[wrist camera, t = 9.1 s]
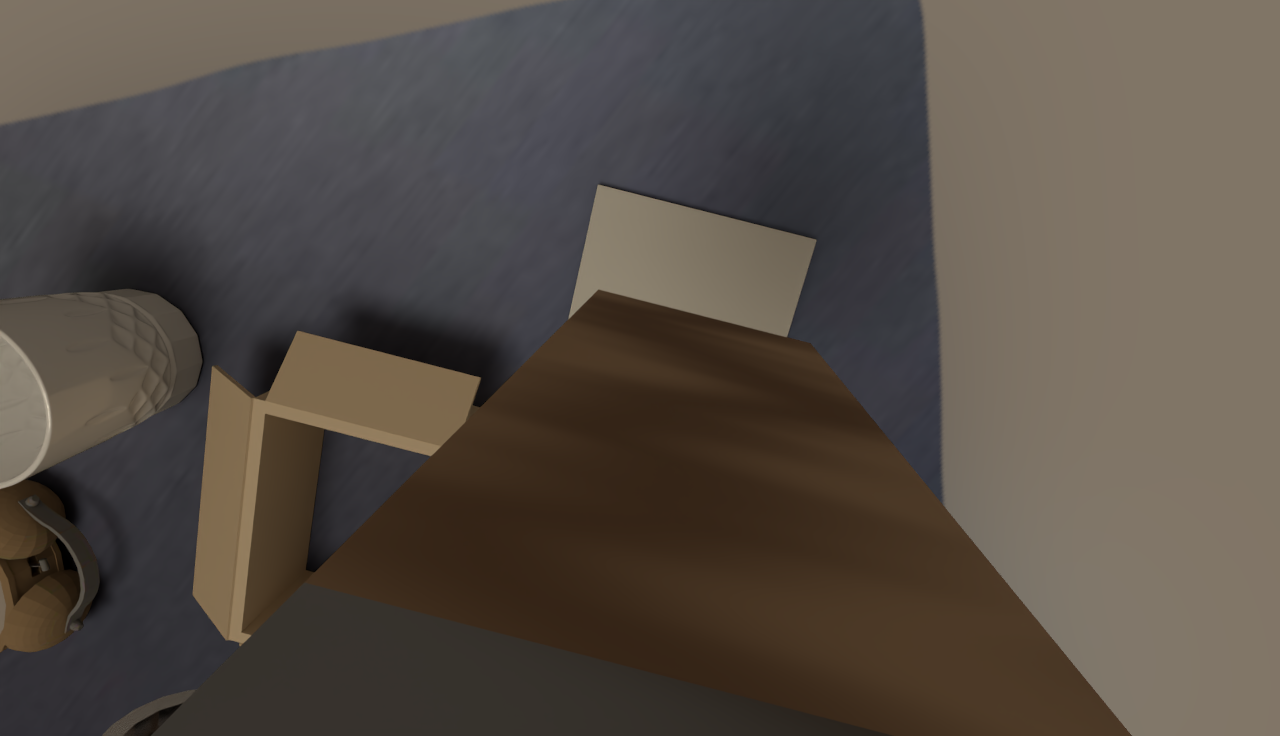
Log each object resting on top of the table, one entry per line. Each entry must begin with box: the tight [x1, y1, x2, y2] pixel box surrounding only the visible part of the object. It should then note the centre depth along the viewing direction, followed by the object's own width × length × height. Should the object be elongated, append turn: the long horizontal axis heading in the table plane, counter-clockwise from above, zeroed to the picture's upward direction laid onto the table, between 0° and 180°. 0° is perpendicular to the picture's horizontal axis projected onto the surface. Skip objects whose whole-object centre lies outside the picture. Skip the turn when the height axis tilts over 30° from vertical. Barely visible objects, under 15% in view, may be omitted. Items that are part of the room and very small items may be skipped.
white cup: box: [0, 289, 203, 489], centre depth 33 cm, size 8×8×10 cm
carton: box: [193, 331, 481, 646], centre depth 36 cm, size 18×19×6 cm
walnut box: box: [151, 289, 1132, 736], centre depth 10 cm, size 5×7×14 cm
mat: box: [569, 185, 817, 337], centre depth 35 cm, size 11×11×1 cm
